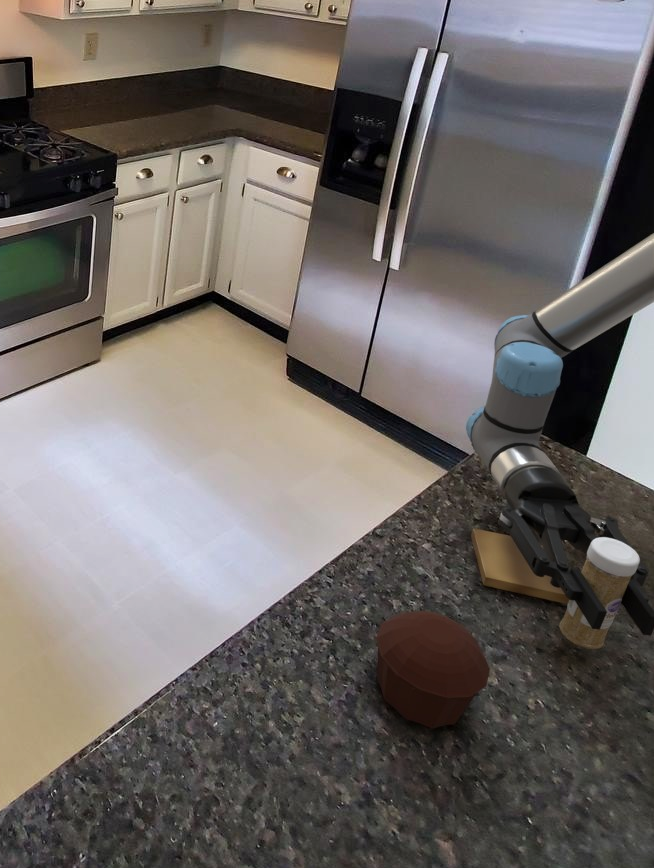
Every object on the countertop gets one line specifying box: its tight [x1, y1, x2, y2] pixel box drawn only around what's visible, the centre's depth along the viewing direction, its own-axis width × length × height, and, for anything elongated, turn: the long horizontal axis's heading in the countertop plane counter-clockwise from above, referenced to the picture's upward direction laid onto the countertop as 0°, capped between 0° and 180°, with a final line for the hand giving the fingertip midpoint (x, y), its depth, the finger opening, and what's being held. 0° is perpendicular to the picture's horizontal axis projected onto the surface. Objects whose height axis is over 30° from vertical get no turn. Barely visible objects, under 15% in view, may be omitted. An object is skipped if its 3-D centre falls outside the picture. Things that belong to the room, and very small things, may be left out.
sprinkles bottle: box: [559, 537, 641, 650], centre depth 93 cm, size 5×5×13 cm
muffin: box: [375, 610, 491, 729], centre depth 91 cm, size 12×11×10 cm
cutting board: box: [470, 527, 570, 605], centre depth 110 cm, size 10×10×2 cm
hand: (624, 623), depth 88 cm, fingers closed on sprinkles bottle, 4 cm apart
